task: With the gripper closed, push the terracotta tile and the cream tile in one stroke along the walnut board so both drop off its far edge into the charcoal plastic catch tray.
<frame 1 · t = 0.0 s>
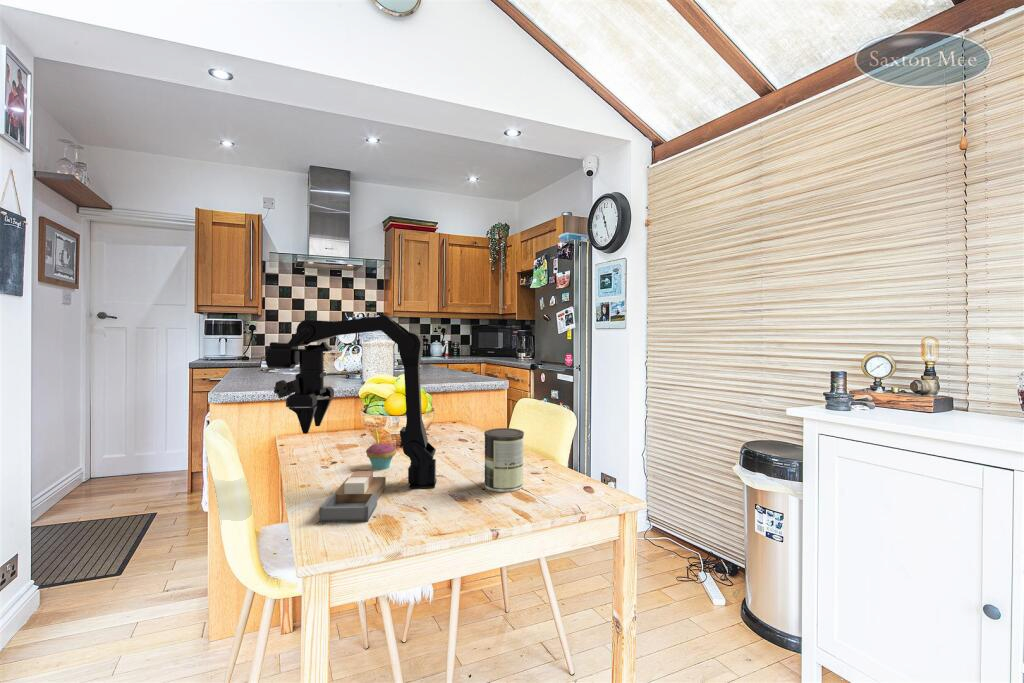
hand: (311, 429, 124), 15 cm above the table, fingers open, 9 cm apart
cream tile: (356, 490, 114), point 2 cm above the table, touching walnut board
walnut board: (360, 495, 118), on the table
terracotta tile: (361, 483, 119), point 2 cm above the table, touching walnut board
catch tray: (349, 513, 107), on the table
coffee can: (503, 486, 126), on the table
cupcake: (381, 467, 143), on the table
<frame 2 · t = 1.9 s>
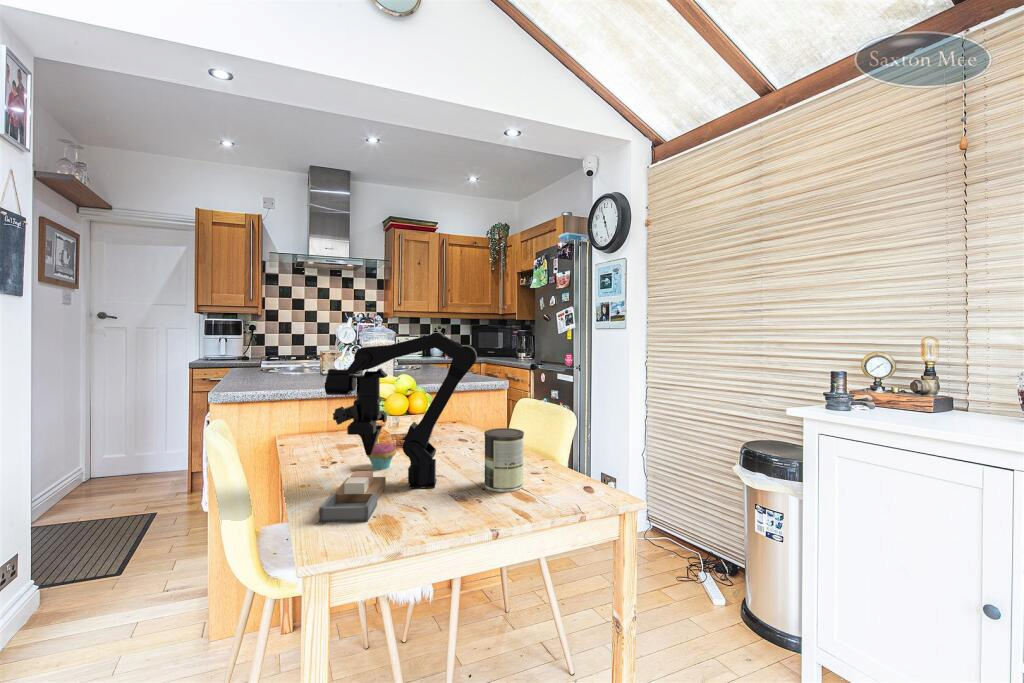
hand: (368, 454, 126), 8 cm above the table, fingers closed
nothing on the table moved.
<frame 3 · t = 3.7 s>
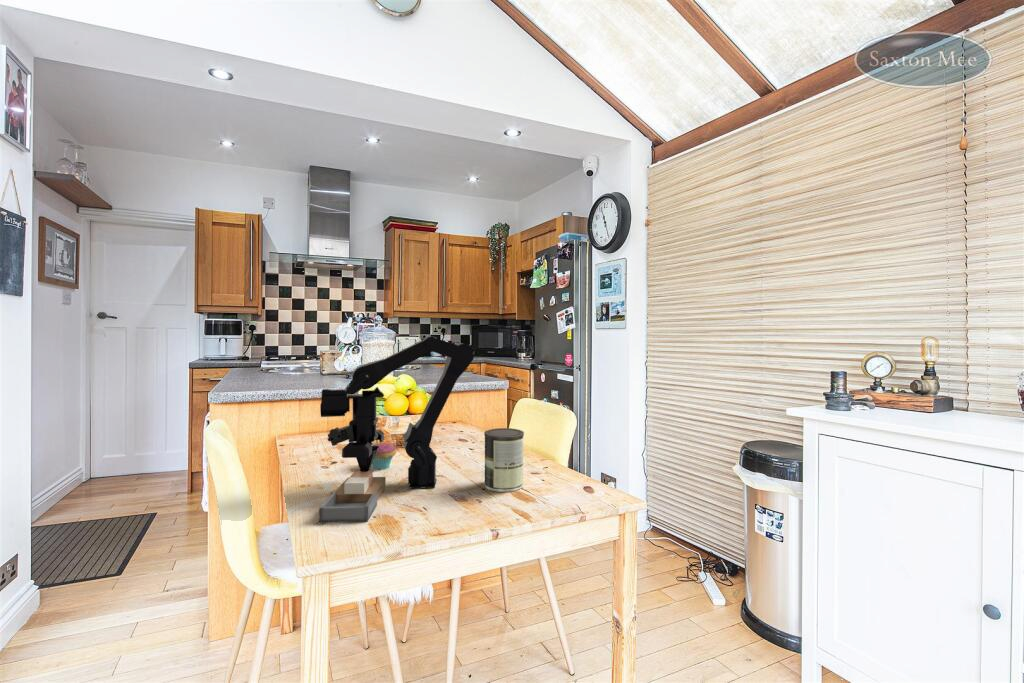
hand: (364, 476, 122), 3 cm above the table, fingers closed
terracotta tile: (361, 484, 119), point 3 cm above the table, touching gripper
everything else where it was.
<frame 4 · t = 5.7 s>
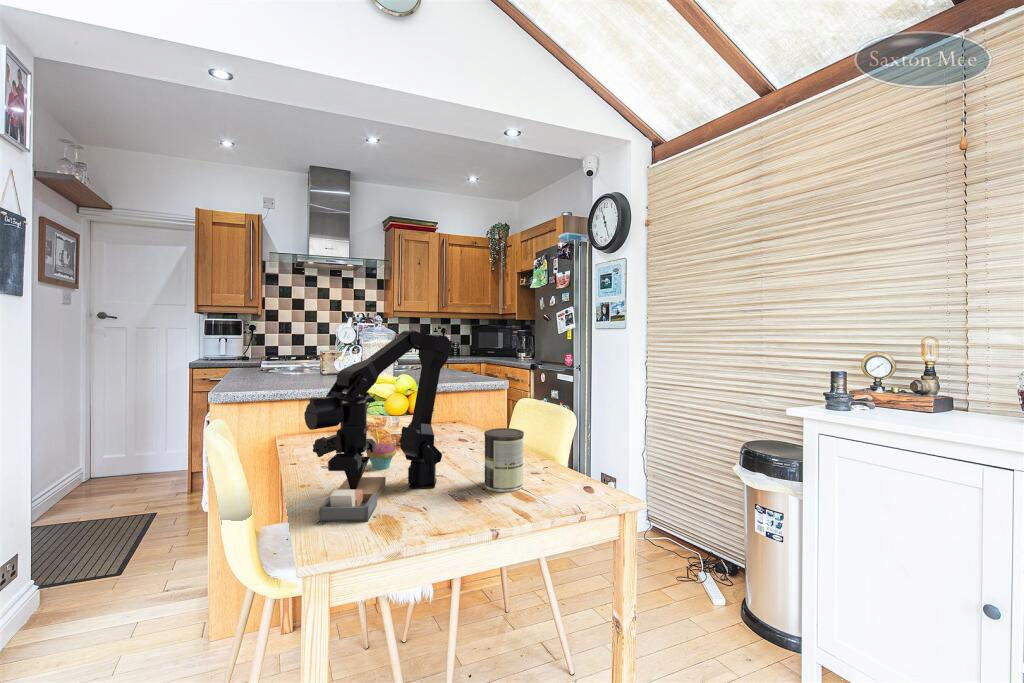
hand: (353, 490, 111), 3 cm above the table, fingers closed
cream tile: (344, 498, 106), point 3 cm above the table, tilted 101°, touching catch tray
terracotta tile: (350, 504, 109), point 1 cm above the table, tilted 10°, touching catch tray, gripper
everything else where it was.
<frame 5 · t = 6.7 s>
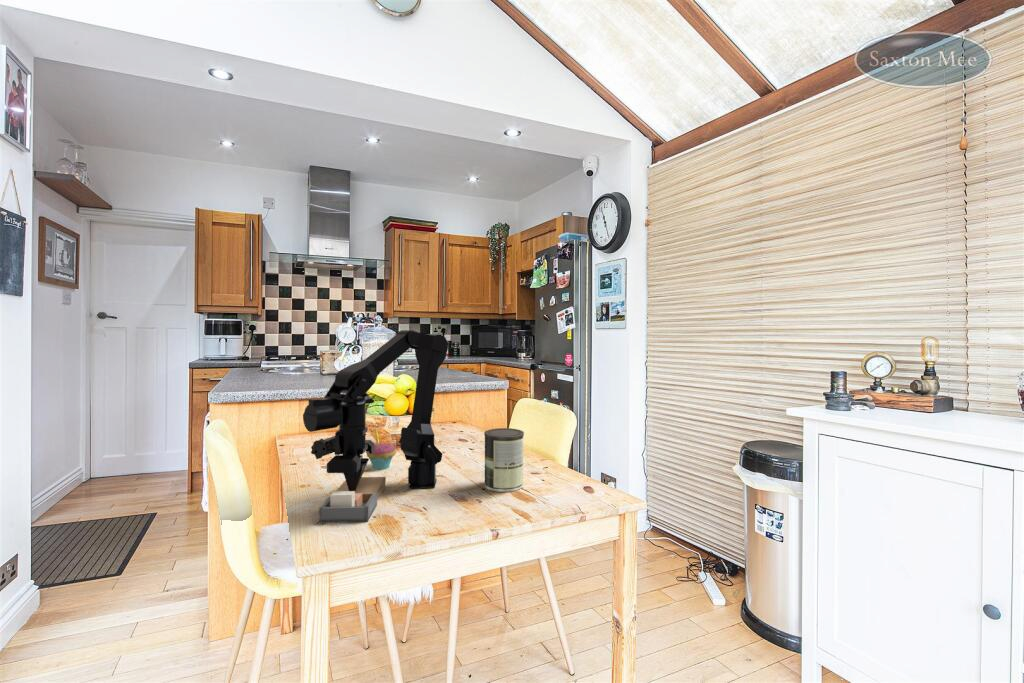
hand: (352, 492, 110), 3 cm above the table, fingers closed
cream tile: (344, 501, 106), point 3 cm above the table, tilted 90°, touching catch tray
terracotta tile: (349, 507, 108), point 1 cm above the table, touching catch tray
everything else where it was.
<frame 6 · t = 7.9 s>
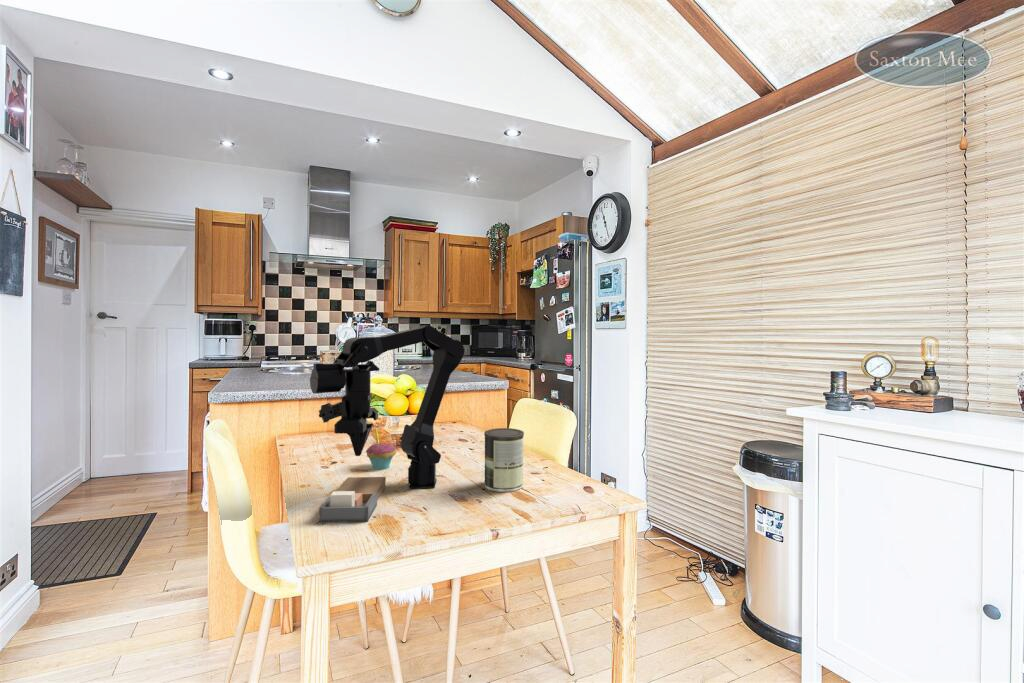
hand: (358, 455, 116), 10 cm above the table, fingers closed
nothing on the table moved.
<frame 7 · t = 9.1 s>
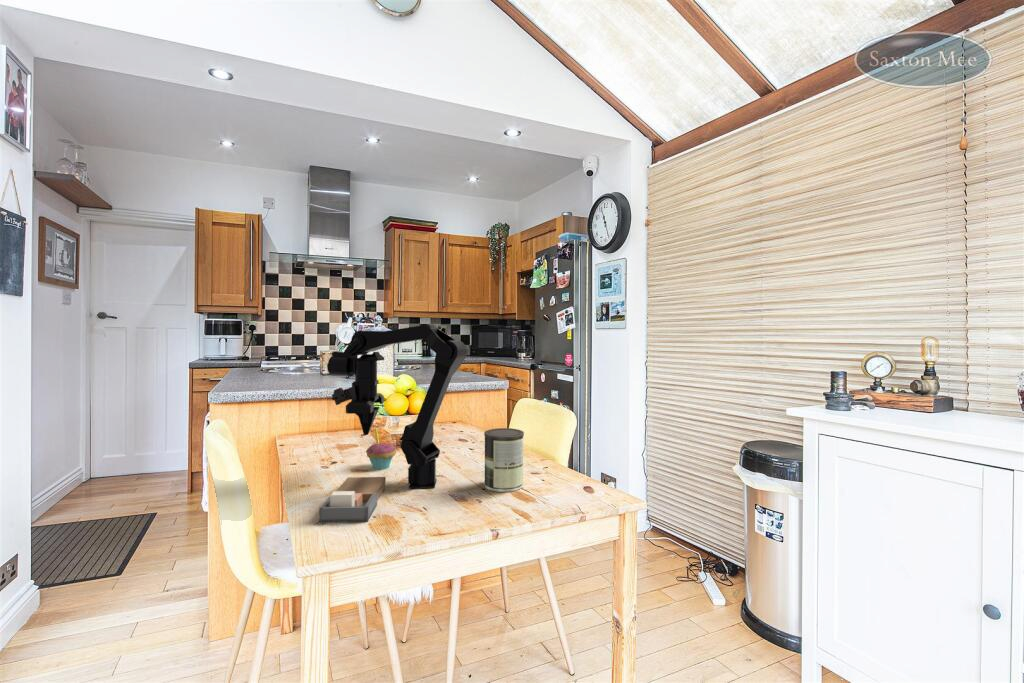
hand: (366, 434, 131), 12 cm above the table, fingers closed
nothing on the table moved.
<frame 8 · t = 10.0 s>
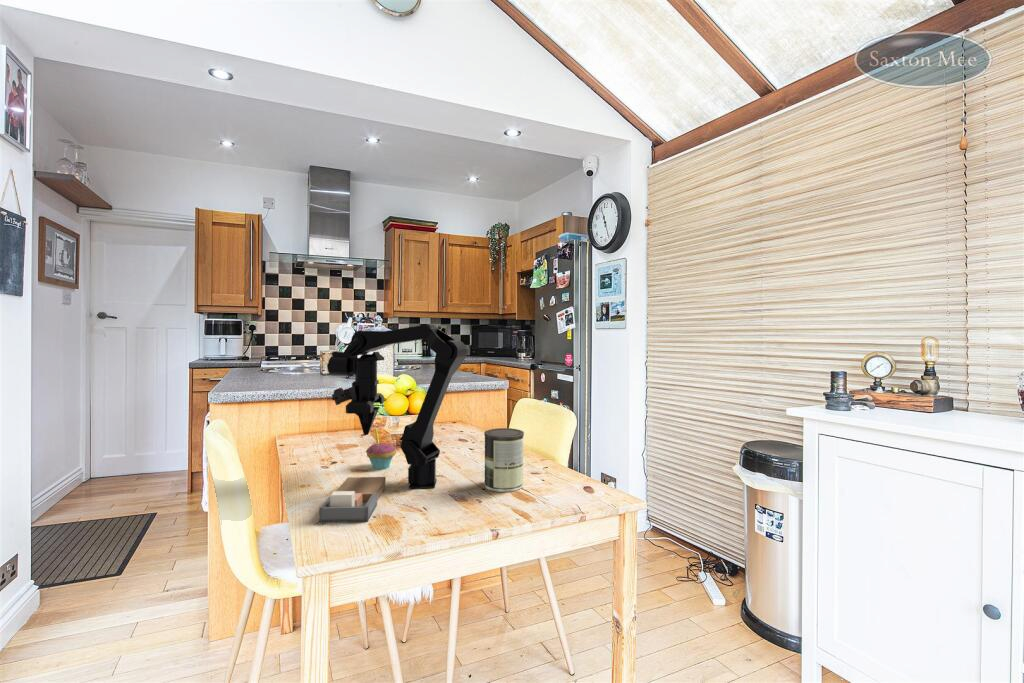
hand: (366, 434, 131), 12 cm above the table, fingers closed
nothing on the table moved.
at the end: terracotta tile inside the target area (1.7 cm from its centre), point 0.6 cm above the table; cream tile inside the target area (1.1 cm from its centre), point 2.8 cm above the table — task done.
